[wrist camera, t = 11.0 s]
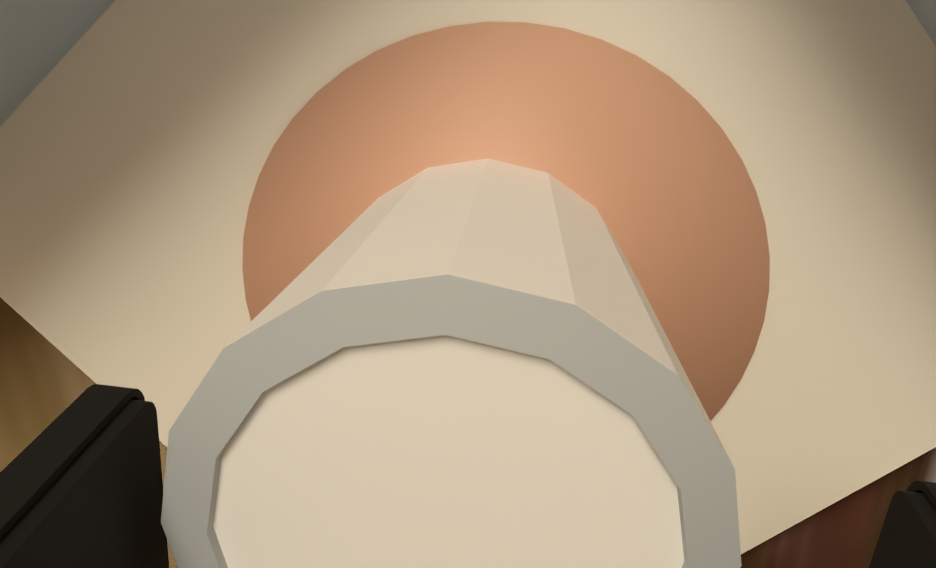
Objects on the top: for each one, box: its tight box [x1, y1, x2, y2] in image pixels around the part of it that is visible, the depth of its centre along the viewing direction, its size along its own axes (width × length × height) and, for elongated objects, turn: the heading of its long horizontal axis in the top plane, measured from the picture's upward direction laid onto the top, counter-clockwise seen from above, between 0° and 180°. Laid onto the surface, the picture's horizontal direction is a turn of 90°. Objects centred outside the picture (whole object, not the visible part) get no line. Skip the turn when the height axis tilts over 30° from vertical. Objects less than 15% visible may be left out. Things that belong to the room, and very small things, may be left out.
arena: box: [0, 0, 936, 554], centre depth 14 cm, size 18×18×5 cm
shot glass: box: [161, 159, 741, 568], centre depth 13 cm, size 7×7×7 cm
